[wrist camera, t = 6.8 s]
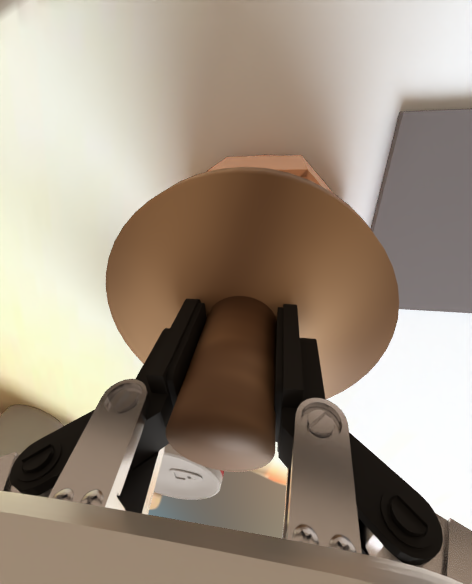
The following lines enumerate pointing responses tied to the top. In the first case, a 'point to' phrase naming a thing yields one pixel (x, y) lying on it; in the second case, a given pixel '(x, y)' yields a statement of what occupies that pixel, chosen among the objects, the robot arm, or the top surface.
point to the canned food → (186, 477)
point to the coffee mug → (24, 428)
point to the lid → (250, 298)
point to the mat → (429, 210)
